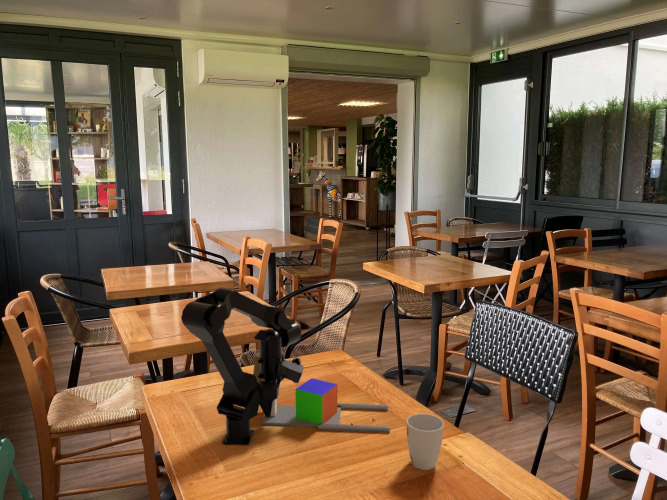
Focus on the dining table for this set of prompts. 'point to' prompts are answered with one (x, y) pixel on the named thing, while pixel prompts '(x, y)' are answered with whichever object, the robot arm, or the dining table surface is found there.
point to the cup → (424, 440)
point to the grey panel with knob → (292, 417)
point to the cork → (256, 366)
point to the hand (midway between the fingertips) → (271, 409)
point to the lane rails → (357, 427)
